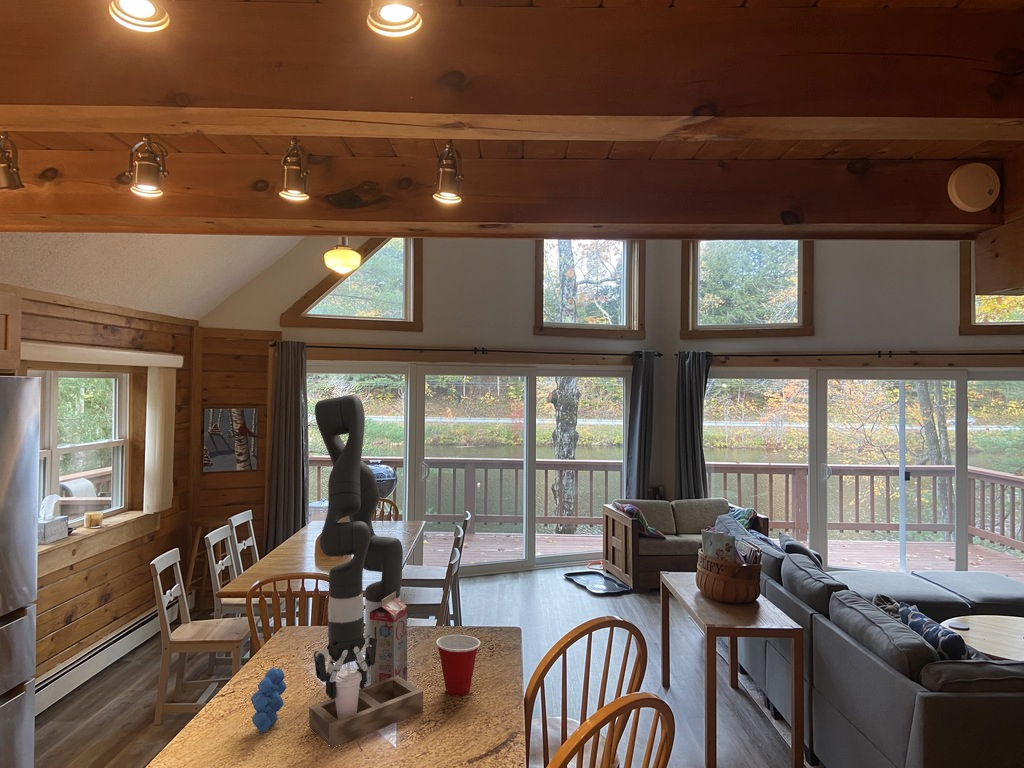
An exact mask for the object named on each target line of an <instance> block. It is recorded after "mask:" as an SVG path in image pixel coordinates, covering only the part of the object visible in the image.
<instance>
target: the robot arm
mask: <svg viewBox="0 0 1024 768" xmlns="http://www.w3.org/2000/svg"><path fill="white" fill-rule="evenodd" d="M314 417H315V421H316V425H317V428H318V430H319V432H320V435H321V438H322V440H323V443H324V445H325V448H326V450H327V452H328V455H329V457H330V461H331V463H332V469H331V470H330V474H329V477H328V481H327V482H328V483H327V484H328V485H327V486H328V488H327V489H328V490H327V491H328V493H327V494H328V495H327V496H328V497H327V498H328V500H327V501H328V504H327V513H326V517H325V521H324V525H323V527H322V531H321V534H320V538H319V548H320V550H321V551H322V552H321V553H323V554H324V555H325V556H327V557H341V556H352V558H351V559H350V560H349V561H347V562H345V563H342V564H338V565H336V566H333V567H331V569H330V571H329V575H328V594H329V595H328V604H327V634H328V635H327V637H328V644H327V647H326V648H325V649H323V650H320V651H319V650H315V651H314V652H313V659H314V666H315V675H316V678H317V679H318V680H320V681H321V682H322V683H325V694H326V696H327V697H328V698H329V699H335V698H336V681H334V680H335V678H336V675H337V673H338V672H340V671H341V669H342V666H343V665H345V664H348V662H350V663H353V662H354V663H355V665H356V666H357V667H358V668H357V669H356V670H357V671H359V672H360V673H361V677H362V680H361V681H360V687H359V689H360V688H361V689H362V688H364V687H366V685H367V681H368V679H367V674H368V668H370V666H373V665H374V664H375V656H376V646H377V638H375V637H373V636H372V635H370V612H371V611H372V610H374V609H376V608H377V607H379V606H380V605H381V600H382V599H384V598H386V597H387V596H389V595H390V594H392V593H394V592H396V599H398V600H399V601H401V588H402V583H403V582H402V581H403V565H404V564H403V561H404V550H403V549H404V547H403V544H402V542H401V540H400V539H399V538H397V537H390V536H378V535H376V533H375V530H374V527H373V523H372V522H373V517H374V516H375V515H374V514H375V512H376V509H377V508H378V505H379V502H380V491H379V490H380V489H379V486H378V483H377V479H376V475H375V473H374V471H373V470H372V468H371V467H370V466H369V465H368V464H367V463H365V461H363V460H362V455H363V446H364V438H365V437H364V436H365V435H364V434H365V427H366V425H365V424H366V422H365V421H366V420H365V419H366V417H365V408H364V405H363V403H362V400H361V398H360V397H359V396H358V395H356V394H348V395H343V396H342V395H341V396H337V397H330V398H326V399H325V398H324V399H322V400H319V401H316V404H315V406H314ZM347 434H348V436H347V440H346V443H344V440H343V439H342V438H341V435H347ZM347 517H348V519H349V521H344V522H343V521H342V522H339V521H340V520H341V519H344V518H347ZM364 570H366V571H369V572H374V573H375V572H377V573H381V580H380V581H375V582H372V583H370V584H369V585H367V586H366V588H365V590H364V591H365V593H364V595H365V596H364V595H363V571H364ZM364 598H365V599H364ZM364 602H365V603H364ZM364 634H365V637H364ZM364 646H365V654H364V656H363V654H362V650H363V647H364ZM328 656H329V661H328V663H327V667H326V662H327V659H328Z"/></svg>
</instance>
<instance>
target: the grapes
mask: <svg viewBox="0 0 1024 768" xmlns="http://www.w3.org/2000/svg"><path fill="white" fill-rule="evenodd" d="M285 677H286V676H285V673H284V671H283V669H281V668H277V667H272V668H269V669H268V670H267V672H266V673H265V675H264V678H262V679H261V680H260V682H259V683H258V684H257V688H258V690H256V691H255V692H254V693H253V694H252V696H251V697H250V701H251V703H252V706H253V709H254V710H255V711H256V712H255V713H254V714H253V715H252V717H251V720H252V723H253V725H254V726H255V727H256V729H257V731H258V732H259V733H260V734H264V733H266V732H267V731H268V729H270V728H271V727H272V726H274V725H275V723H276V722H277V721H278V720H279V718H278V714H277V712H279V711H280V710H281V709H282V708H283V706H284V705H285V703H284V699H283V697H281V696H282V695H283V693H284V692H285V691H286V689H287V684H286V682H285V681H284V679H285Z"/></svg>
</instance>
